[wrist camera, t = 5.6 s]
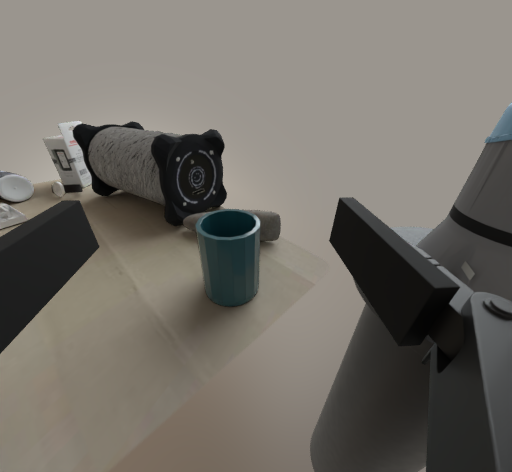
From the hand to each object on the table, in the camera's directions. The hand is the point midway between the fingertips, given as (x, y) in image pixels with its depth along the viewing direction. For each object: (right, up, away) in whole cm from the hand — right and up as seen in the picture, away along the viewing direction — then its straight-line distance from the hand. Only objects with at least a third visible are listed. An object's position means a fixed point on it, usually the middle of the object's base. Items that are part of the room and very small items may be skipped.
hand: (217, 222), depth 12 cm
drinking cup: (-1, -7, +16) cm, 17 cm away
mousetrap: (-48, +3, +31) cm, 57 cm away
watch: (-42, +12, +40) cm, 59 cm away
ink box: (-44, +13, +48) cm, 66 cm away
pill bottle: (-49, +9, +35) cm, 61 cm away
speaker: (-19, +20, +30) cm, 41 cm away
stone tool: (-2, +4, +24) cm, 25 cm away
